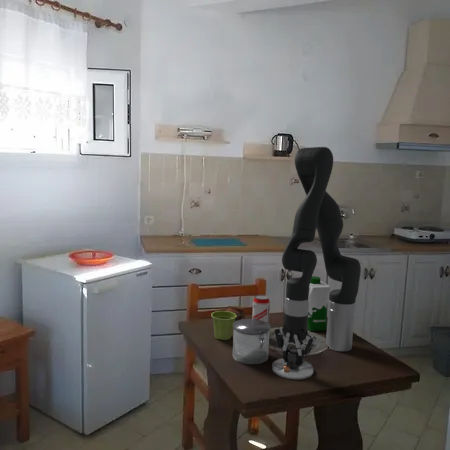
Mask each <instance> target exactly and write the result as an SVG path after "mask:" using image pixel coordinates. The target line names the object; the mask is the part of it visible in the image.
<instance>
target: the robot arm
mask: <svg viewBox="0 0 450 450" xmlns="http://www.w3.org/2000/svg"><path fill="white" fill-rule="evenodd" d="M294 165H295V166H294V167H295V170H296V174H297V176H298V179H299V181H300V184H301V186H302V188H303V190H304V193H305V195H306V196H305V198H304V199H303V200H302V201H301V202H300V204H299V206H298V208H297V210H296V212H295V216H294V221H293V226H292V232H291V236H290V238H289V239H288V240H289V241H288V242H287V243H288V244H287V245H286V247H285V249H284V251H283V254H282V256H281V264H282V266H283V268H284V270H287V271H293V272H298V273H302V274H301V276H300V277H290V278H288V280H287V281H286V287H285V288H286V289H285V300H284V306H283V322H282V323H283V326H282V327H279V326H278V328H277V327H276V328H275V329H274V334H275V339H276V343H277V347H278V348H279V349H280V348H281V349H282V351H283V352H282V358H283V360H284V362H287V351H288V350H290V346H291V344H292V343H293V344H295V348H296V350H298V357H297V366H301V365H302V364H303V363H304V361H305V356H307V355H309V354H310V353H311V352H312V349H313V347H314V344H315V342H316V336H311V335H309V331H308V329H307V325H308V310H309V302H308V297H309V286H310V281H311V278H312V277H313V274H314V272H315V269H316V267H317V262H318V257H317V255H316V253H315V251H313V250H310V249H302V248H299V247H300V246H301V245H302V244H304V243H306V244H307V243H313V241H314V240H315V238H316V232H317V235H318V239H319V241H320V243H319V244H320V247H321V249H322V255H323V262H324V268H325V271H326V275H327V276H328V277H329V278H330V279H331V280H332V281H337V282H339V283H341V286H340V288H339V289H338V288H337V289H333V290H330V291H329V296H328V309H327V330H326V332H325V333H326V335H325V345H326V344H327V345H328V346H329V348H328V349H329V350H332V351H336V352H349V351H351V350H352V348H353V337H354V336H353V335H354V324H355V313H356V299H357V296H358V293H359V286H360V279H361V272H362V271H361V269H362V268H361V267H362V266H361V262H360V261H359V260H358V258H355V257H351V256H345V255H343V254H341V252H340V250H339V244H338V243H339V239H340V236H341V234H342V232H343V229H344V221H343V220H344V219H343V216H342V213H341V208H340V206H339V204H338V203H337V202H336V200H335V199H334V198H333V197H332V196H331V194H330V193H328V191H326V190H327V188H328V185H329V181H330V179H331V176H332V173H333V167H334V156H333V152H332V150H331V149H330V148H329V147H327V146H313V147H303V148H299V149H297V150H296V153H295V155H294ZM283 335H284V336H285V339H284V336H283ZM305 339H306V346H305Z"/></svg>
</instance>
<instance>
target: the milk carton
mask: <svg viewBox="0 0 450 450" xmlns="http://www.w3.org/2000/svg"><path fill="white" fill-rule="evenodd" d="M331 288H332V287H331V286H330V285H328V283H325V282H323V281H322V280H321V277H319V276H312V278H311V281H310V286H309V297H308V302H309V310H308V325H307V331H308V332H309V331H310V332H320V331H321V332H322V331H327V319H328V305H329V293H330V292H331Z"/></svg>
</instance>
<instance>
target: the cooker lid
mask: <svg viewBox="0 0 450 450" xmlns="http://www.w3.org/2000/svg"><path fill="white" fill-rule="evenodd" d="M297 357H298V350H297V349H294V348H292V349H291V348H289V350H288V351H287V362H284V360H283V357H282V358H277V359H276V360H274V361H273V362H272V364H271V368H272V369H271V370H272V372H273V373H274V374H275V375H277V376H279V377H280V378H283V379H288V380H296V381H297V380H306V379H308V378H311V377H312V376H313V375H314V367H313V365H312V364H311V363H310V362H308V361H306V360H304V363H303V364H302V365H301V366H297Z"/></svg>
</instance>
